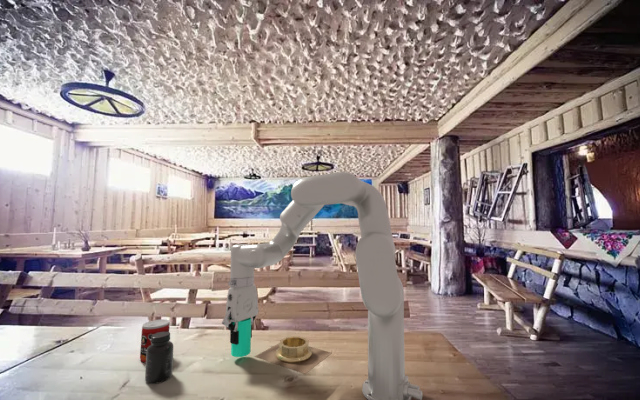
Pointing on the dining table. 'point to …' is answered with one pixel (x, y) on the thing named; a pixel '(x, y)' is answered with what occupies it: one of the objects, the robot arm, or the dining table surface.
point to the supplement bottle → (159, 358)
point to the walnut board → (299, 367)
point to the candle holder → (293, 350)
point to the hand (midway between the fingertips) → (241, 339)
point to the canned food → (148, 331)
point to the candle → (242, 339)
